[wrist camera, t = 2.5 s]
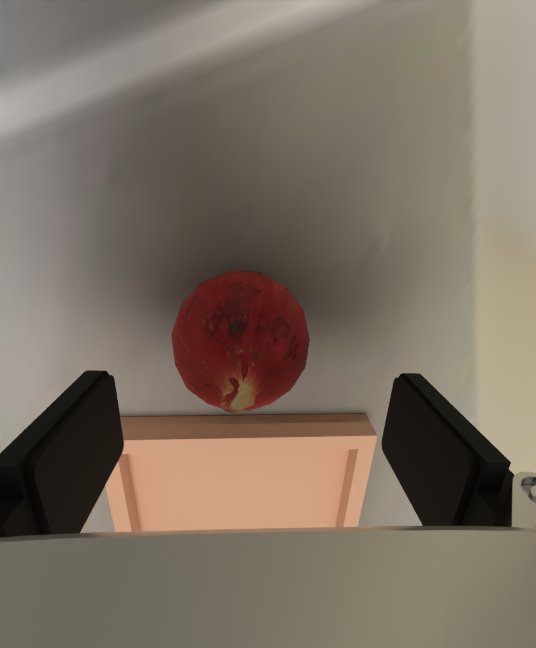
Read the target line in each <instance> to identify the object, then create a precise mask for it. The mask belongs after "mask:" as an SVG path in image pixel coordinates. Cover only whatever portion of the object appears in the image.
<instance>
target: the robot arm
mask: <svg viewBox="0 0 536 648" xmlns="http://www.w3.org/2000/svg"><path fill="white" fill-rule="evenodd" d="M123 448H124V439H123V433H122V426H121V420H120V413H119V407H118V400H117V393H116V387H115V380H114V377H113V376H112V375H109V374H108V372H107V371H85V372H84V373H83V374H82V375H81V376H80V377H79V378H78V379H77V380H76V381H75V382H74V383H73V384H72V385H71V386H70V387H68V388H67V389H66V390H65V391H64V392H63V393H62V394H61V395H60V396H59V397H58V398H57V399H56V400H55V401H54V402H53V403H52V404H51V405H50V406H49V407H48V408H47V409H46V410H45V411H44V412H43V413H42V414H41V415H40V416H38V417H37V418H36V419H35V420H34V421H33V422H32V423H31V424H30V425H29V426H28V427H27V428H26V429H25V430H24V431H23V432H22V433H21V434H20V435H19V436H18V437H17V438H16V439H15V440H14V441H13V442H12V443H11V444H10V445H8V446H7V447H6V448H5V449H4V450H3V451H2V452H1V453H0V648H536V473H532V472H520V473H518V474H516V475H514V474H513V473H512V472H511V471H510V470H509V466H510V464H511V462H510V461H509V460H508V459H507V458H506V457H505V456H504V455H503V454H502V453H500V451H499V450H498V449H497V448H495V446H493V445H492V444H491V443H490V442H489V441H488V440H487V439H486V438H485V437H484V436H483V435H482V434H481V433H480V432H479V431H478V430H477V429H476V428H475V427H474V426H473V425H472V424H471V423H470V422H469V421H468V420H467V419H466V418H465V417H464V416H463V415H462V414H461V413H460V412H459V411H458V410H457V409H456V408H455V407H454V406H453V405H452V404H450V403H449V402H448V401H447V400H446V399H445V398H444V397H443V396H442V395H441V394H440V393H439V392H438V391H437V390H436V389H435V388H434V387H433V386H432V385H431V384H430V383H429V382H428V381H427V380H426V379H425V378H424V377H423V376H422V375H421V374H416V373H402V374H400V376H399V378H395V380H394V383H393V388H392V393H391V398H390V402H389V407H388V412H387V417H386V422H385V427H384V432H383V437H382V450H383V452H384V454H385V456H386V458H387V460H388V462H389V464H390V466H391V467H392V469H393V471H394V473H395V475H396V477H397V478H398V480H399V482H400V484H401V486H402V488H403V490H404V491H405V493H406V495H407V497H408V499H409V501H410V503H411V504H412V506H413V508H414V510H415V512H416V514H417V515H418V517H419V519H420V521H421V523H422V525H423V526H378V527H312V528H260V529H213V530H174V531H135V532H98V533H80V532H81V530H82V528H83V526H84V524H85V522H86V520H87V518H88V517H89V515H90V513H91V511H92V509H93V507H94V505H95V503H96V502H97V500H98V498H99V496H100V494H101V492H102V490H103V488H104V487H105V485H106V483H107V481H108V479H109V477H110V475H111V473H112V472H113V470H114V468H115V466H116V464H117V462H118V460H119V458H120V457H121V455H122V452H123Z"/></svg>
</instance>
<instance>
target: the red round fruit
mask: <svg viewBox="0 0 536 648" xmlns="http://www.w3.org/2000/svg"><path fill="white" fill-rule="evenodd" d="M309 340H310V339H309V334H308V329H307V325H306V320H305V315H304V311H303V309H302V307H301V306H300V305H299V304H298V302H297V301H296V300H295V298H294V297H293V296H292V295H291V293H290V292H289V291H288V289H287V288H285V287H284V286H283V285H281V284H279V283H277V282H276V281H274V280H272V279H271V278H269V277H267V276H265V275H264V274H262V273H260V272H248V271H234V270H232V271H229V272H227V273H224V274H222V275H219V276H217V277H214V278H212V279H209V280H207V281H204V282H202V283H201V284H200V285H199V286H198V287H197V288H196V289H195V290H194V291H193V293H192V294H191V295H190V296H189V297H188V298H187V299H186V300H185V301H184V302H183V304H182V306H181V309H180V311H179V314H178V317H177V320H176V323H175V325H174V328H173V331H172V343H173V352H174V360H175V365H176V367H177V369H178V371H179V373H180V375H181V377H182V379H183V381H184V383H185V385H186V387H187V388H188V389H189V390H190V391H191V392H192V393H194V394H195V395H196V396H198V397H199V398H201V399H202V400H203V401H205V402H206V403H207V404H210V405H213V406H216V407H219V408H222V409H224V410H226V411H228V412H232V413H238V414H239V413H240V412H241V411H250V410H253V409H256V408H259V407H262V406H265V405H268V404H271V403H273V402H274V401H275V400H277V399H278V398H280V397H281V396H283V395H284V394H285V393H287V392H288V391H290V390H291V388H292V387H293V386H294V384H295V383H296V381H297V379H298V378H299V376H300V375H301V373H302V371H303V370H304V368H305V365H306V360H307V353H308V346H309Z"/></svg>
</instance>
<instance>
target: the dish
mask: <svg viewBox="0 0 536 648" xmlns="http://www.w3.org/2000/svg"><path fill="white" fill-rule="evenodd" d="M120 420H121V426H122V433H123V439H124V448H123V452H122V455H121V457H120V458H119V460H118V462H117V464H116V466H115V468H114V470H113V472H112V473H111V475H110V477H109V479H108V481H107V483H106V485H105V486H106V491H107V495H108V500H109V504H110V509H111V514H112V518H113V523H114V527H115V532H135V531H174V530H213V529H260V528H312V527H358V522H359V518H360V513H361V509H362V504H363V499H364V495H365V490H366V486H367V481H368V477H369V472H370V467H371V463H372V458H373V454H374V449H375V444H376V440H377V434H376V432H375V430H374V429H373V427H372V425H371V423H370V421H369V420H368V418H367V416H366V414H306V415H228V416H149V417H120Z"/></svg>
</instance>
